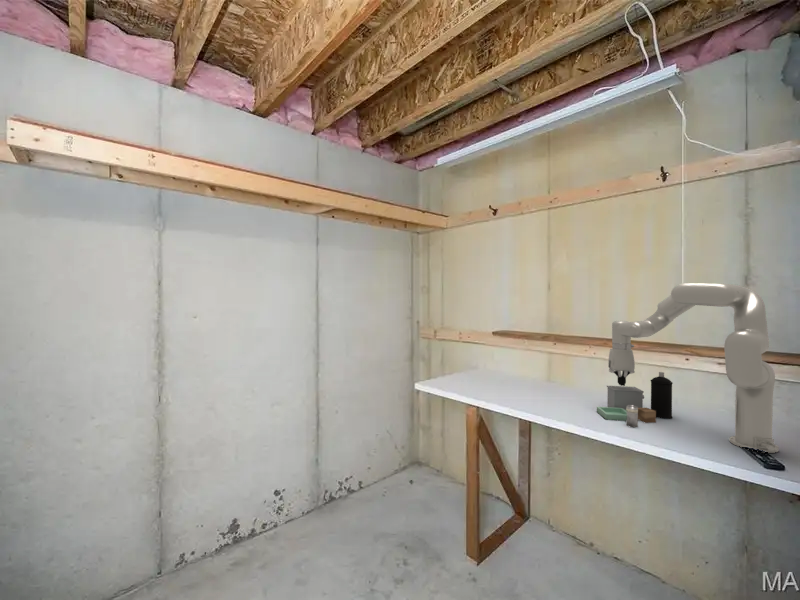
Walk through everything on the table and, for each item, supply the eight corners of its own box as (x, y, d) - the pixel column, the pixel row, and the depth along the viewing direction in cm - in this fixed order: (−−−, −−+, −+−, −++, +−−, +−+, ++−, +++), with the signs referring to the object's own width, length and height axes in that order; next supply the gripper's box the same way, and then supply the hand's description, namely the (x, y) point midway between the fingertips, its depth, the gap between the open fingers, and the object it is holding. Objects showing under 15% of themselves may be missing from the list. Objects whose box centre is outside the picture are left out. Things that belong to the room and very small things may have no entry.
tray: (633, 421, 152) (633, 415, 152) (606, 419, 154) (606, 414, 154) (622, 413, 163) (622, 408, 163) (596, 411, 164) (596, 406, 164)
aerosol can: (676, 419, 154) (676, 374, 154) (655, 418, 156) (656, 373, 156) (666, 413, 162) (666, 371, 162) (646, 412, 164) (646, 370, 164)
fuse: (639, 427, 144) (640, 407, 144) (628, 427, 145) (629, 406, 145) (635, 424, 148) (635, 404, 148) (624, 423, 149) (624, 403, 149)
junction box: (647, 414, 161) (648, 391, 161) (613, 412, 164) (614, 389, 164) (638, 408, 170) (638, 386, 170) (606, 406, 172) (606, 385, 172)
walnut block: (655, 422, 151) (655, 411, 151) (645, 422, 150) (645, 411, 150) (646, 418, 156) (646, 407, 156) (636, 419, 155) (636, 407, 155)
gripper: (635, 346, 169) (635, 384, 169) (601, 345, 172) (601, 382, 172) (642, 348, 162) (642, 387, 161) (607, 347, 165) (607, 386, 164)
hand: (621, 385), depth 167 cm, fingers closed
